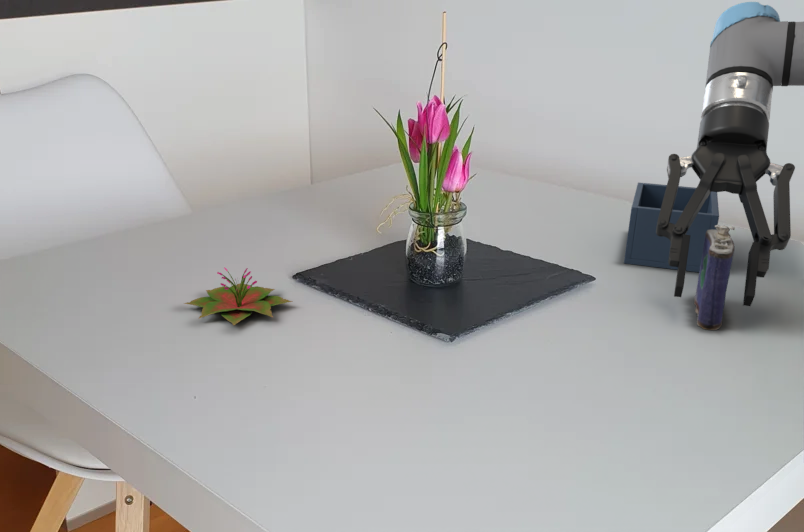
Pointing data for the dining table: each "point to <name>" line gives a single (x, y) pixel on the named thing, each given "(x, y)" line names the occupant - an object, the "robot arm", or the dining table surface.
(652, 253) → the bin
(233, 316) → the lily flower
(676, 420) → the dining table surface
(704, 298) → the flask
